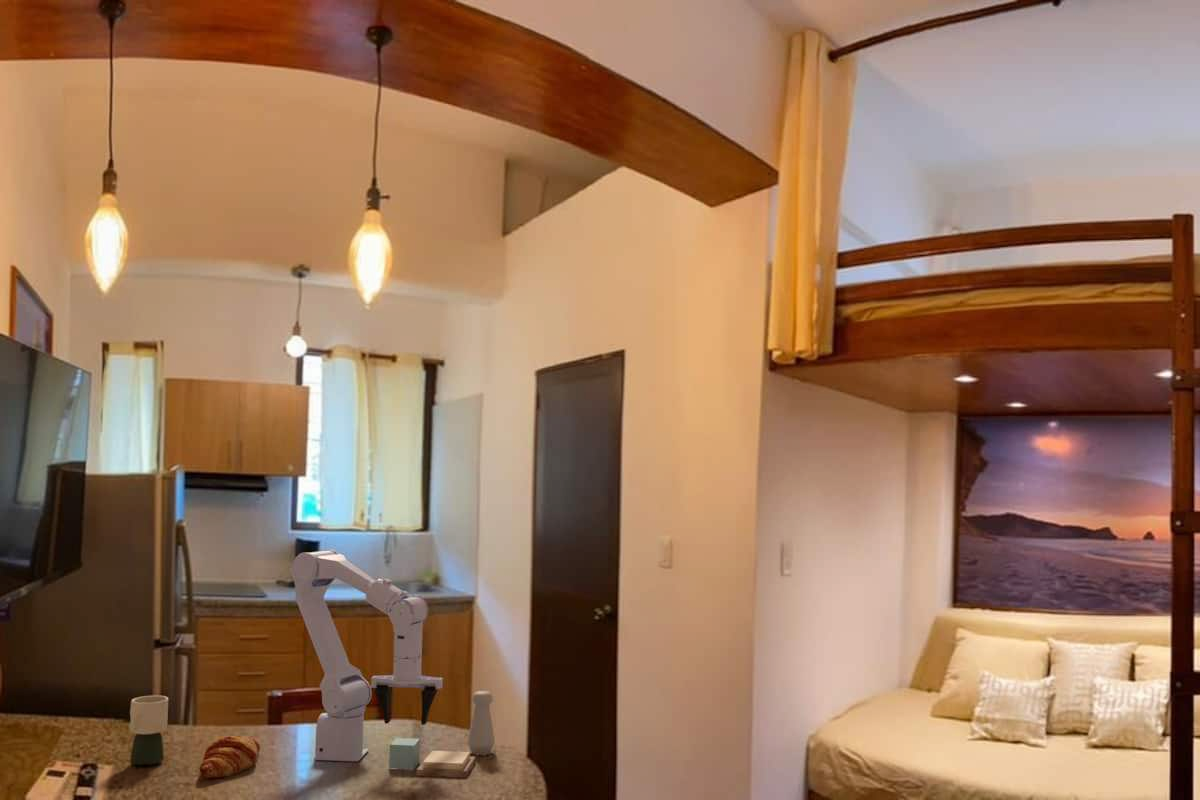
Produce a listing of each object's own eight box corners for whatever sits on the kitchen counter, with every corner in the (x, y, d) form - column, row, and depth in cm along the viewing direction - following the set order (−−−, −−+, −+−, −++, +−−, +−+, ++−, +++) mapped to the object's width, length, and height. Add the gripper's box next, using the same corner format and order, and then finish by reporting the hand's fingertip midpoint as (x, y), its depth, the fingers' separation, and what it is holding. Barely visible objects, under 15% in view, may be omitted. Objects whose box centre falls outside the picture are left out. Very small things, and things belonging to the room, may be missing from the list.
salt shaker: (489, 757, 212) (490, 695, 213) (463, 755, 214) (465, 693, 214) (497, 750, 218) (499, 689, 219) (472, 748, 219) (474, 688, 220)
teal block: (389, 769, 203) (389, 744, 204) (395, 762, 208) (396, 737, 209) (413, 770, 203) (414, 745, 203) (419, 763, 208) (419, 738, 208)
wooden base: (416, 775, 199) (416, 763, 200) (427, 760, 209) (428, 749, 210) (466, 777, 199) (466, 765, 199) (475, 762, 209) (475, 750, 209)
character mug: (148, 755, 210) (151, 692, 211) (178, 757, 208) (181, 694, 209) (113, 770, 199) (116, 704, 200) (145, 773, 198) (148, 706, 199)
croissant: (243, 768, 213) (229, 733, 214) (284, 748, 212) (269, 713, 214) (189, 799, 192) (174, 760, 193) (234, 776, 192) (218, 738, 193)
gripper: (367, 658, 204) (365, 726, 203) (438, 660, 203) (436, 729, 202) (377, 652, 211) (375, 718, 210) (445, 654, 210) (443, 720, 209)
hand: (405, 722), depth 206 cm, fingers open, 7 cm apart
